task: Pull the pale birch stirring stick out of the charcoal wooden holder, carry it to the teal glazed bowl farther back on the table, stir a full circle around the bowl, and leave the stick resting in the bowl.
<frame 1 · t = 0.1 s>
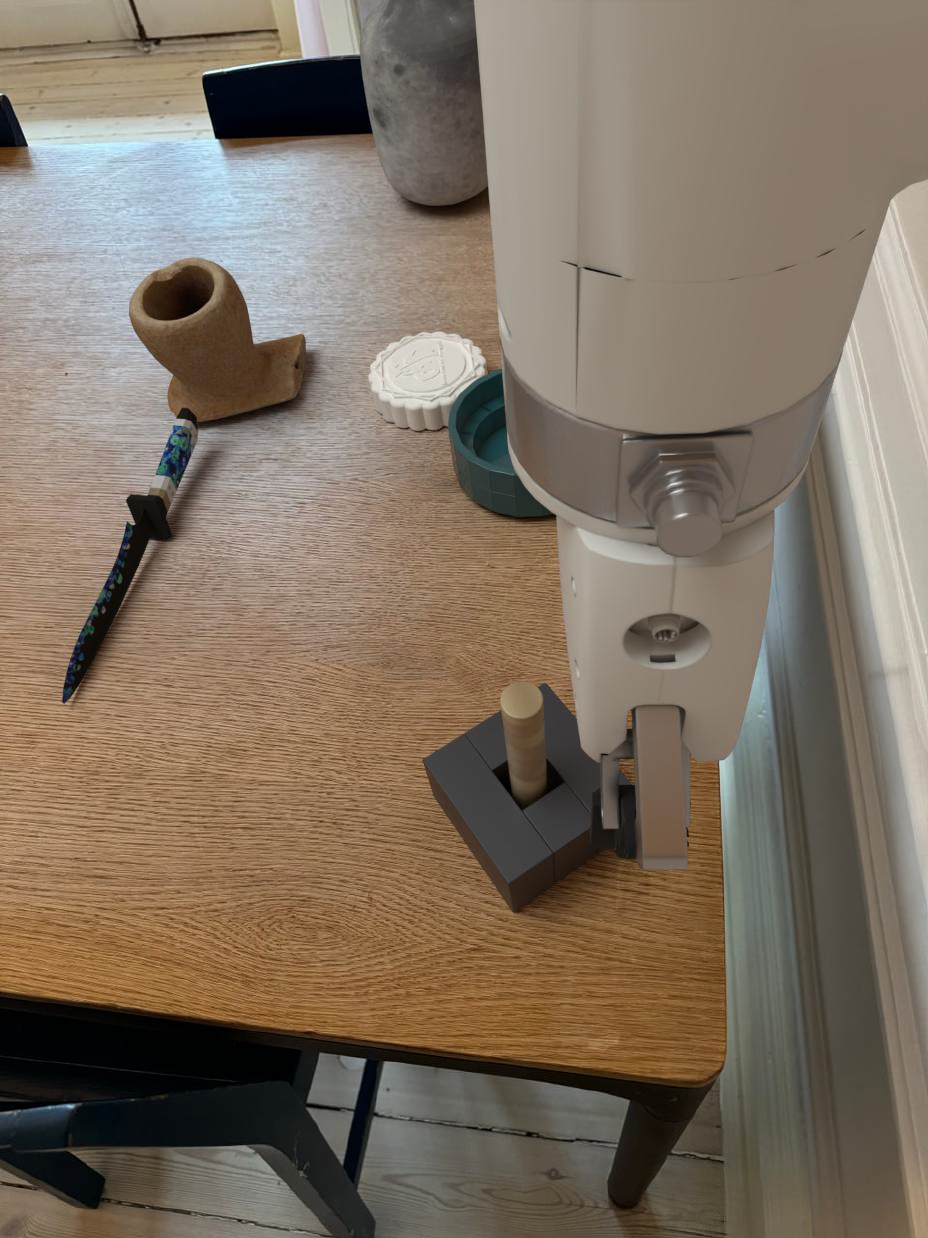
hand: (622, 724, 34), 26 cm above the table, tool pointing down, fingers open, 9 cm apart
stick: (527, 762, 54), in the holder
holder: (531, 812, 60), on the table
knife: (143, 564, 78), on the table
brown hollow clay piece: (244, 399, 90), on the table
mooncake: (431, 393, 88), on the table
bowl: (531, 465, 80), on the table
vase: (446, 193, 110), on the table
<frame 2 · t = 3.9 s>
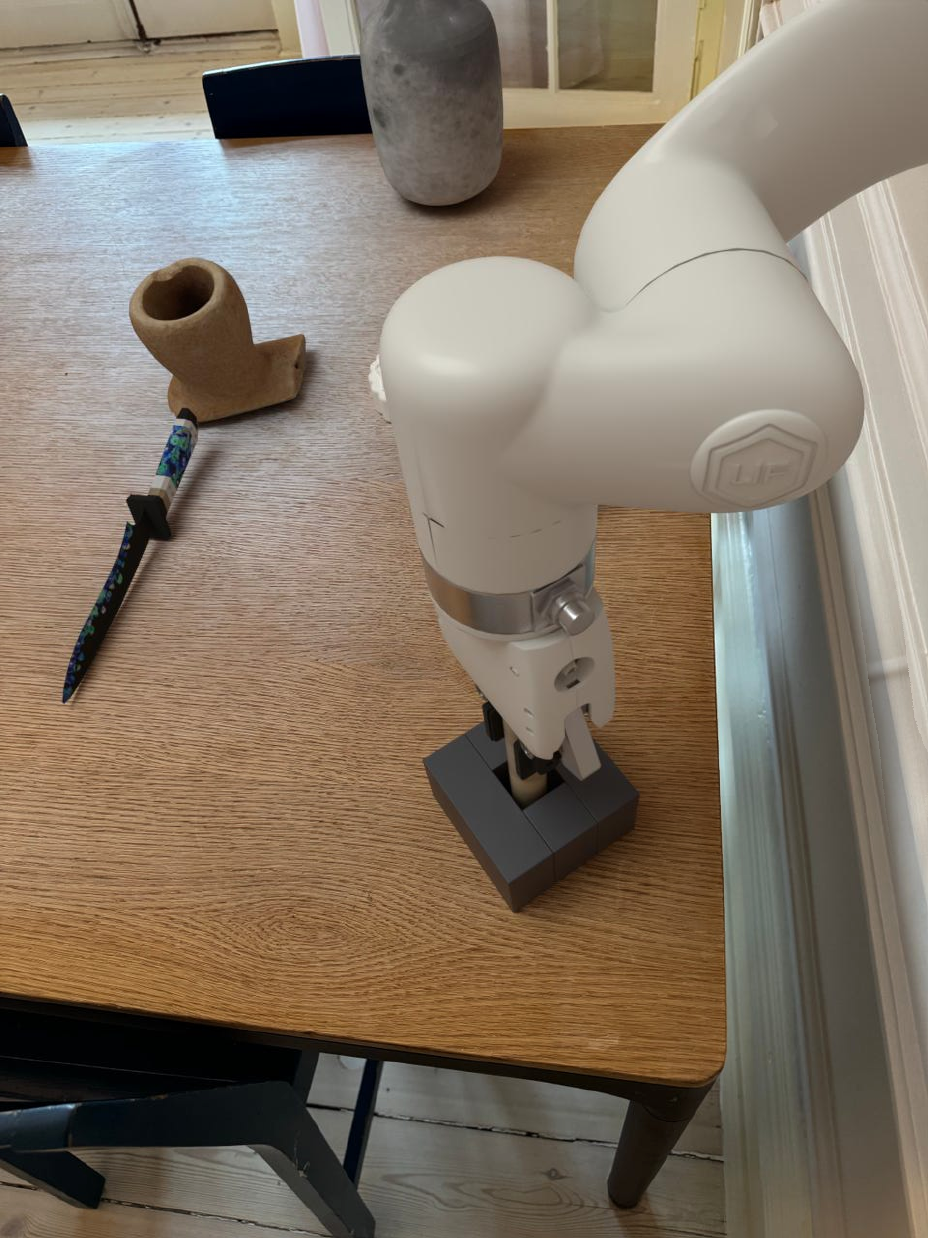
hand: (525, 743, 52), 11 cm above the table, tool pointing down, fingers closed on stick, 2 cm apart
stick: (527, 762, 54), in the holder, touching gripper
everything else where it was.
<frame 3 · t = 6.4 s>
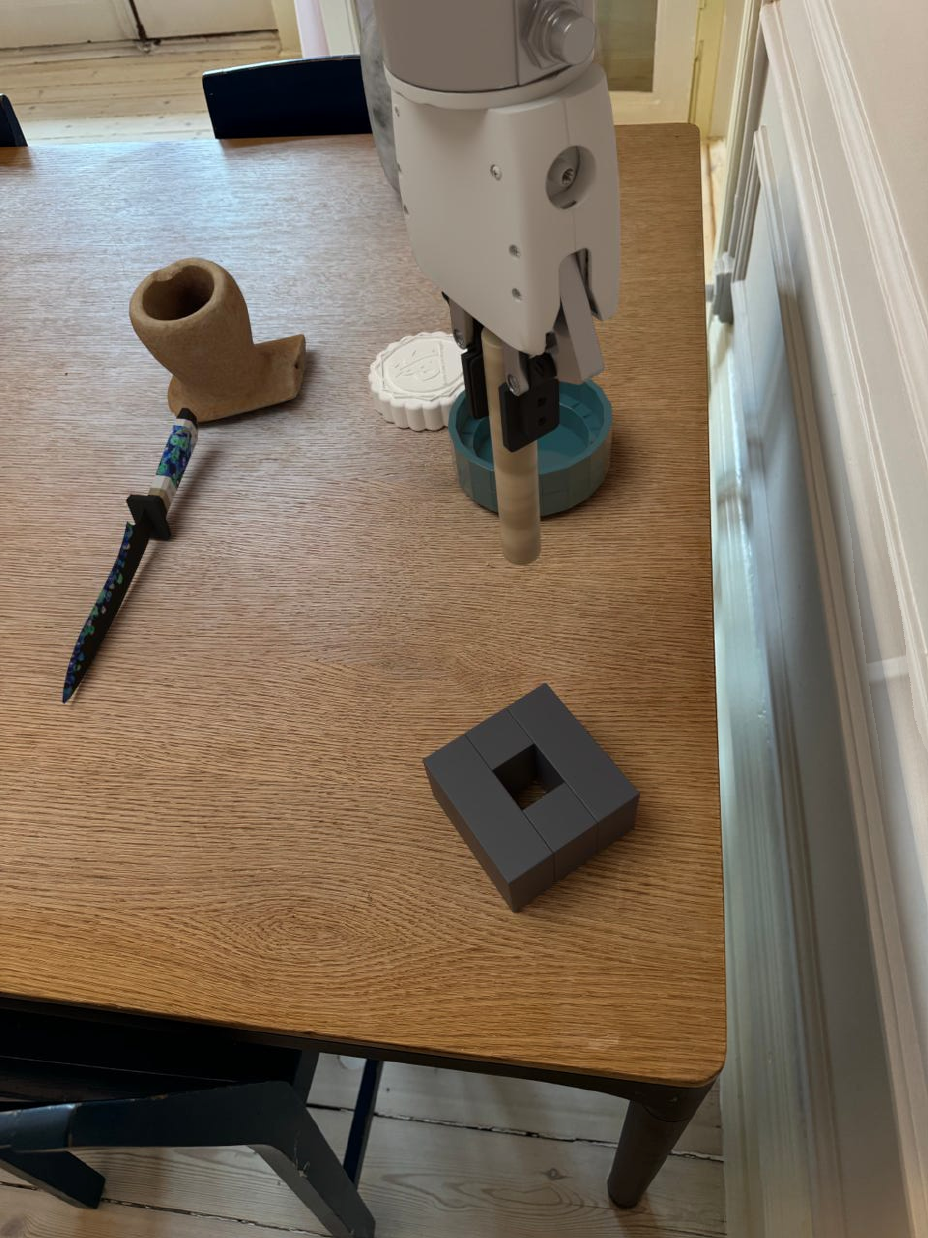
hand: (513, 419, 44), 27 cm above the table, tool pointing down, fingers closed on stick, 2 cm apart
stick: (515, 456, 46), point 25 cm above the table, touching gripper
everything else where it was.
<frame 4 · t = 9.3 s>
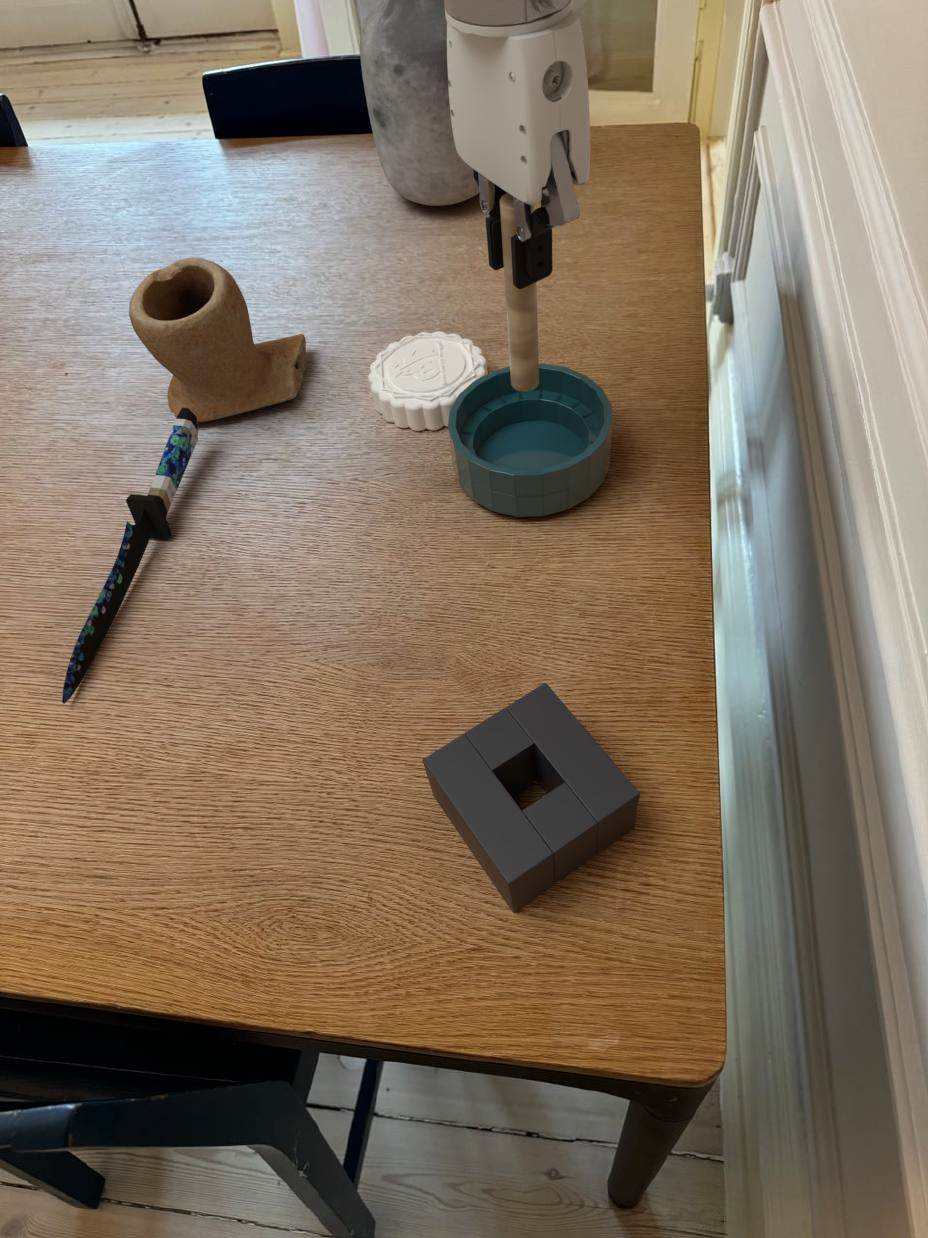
hand: (520, 269, 64), 20 cm above the table, tool pointing down, fingers closed on stick, 2 cm apart
stick: (521, 299, 66), point 18 cm above the table, touching gripper
everything else where it was.
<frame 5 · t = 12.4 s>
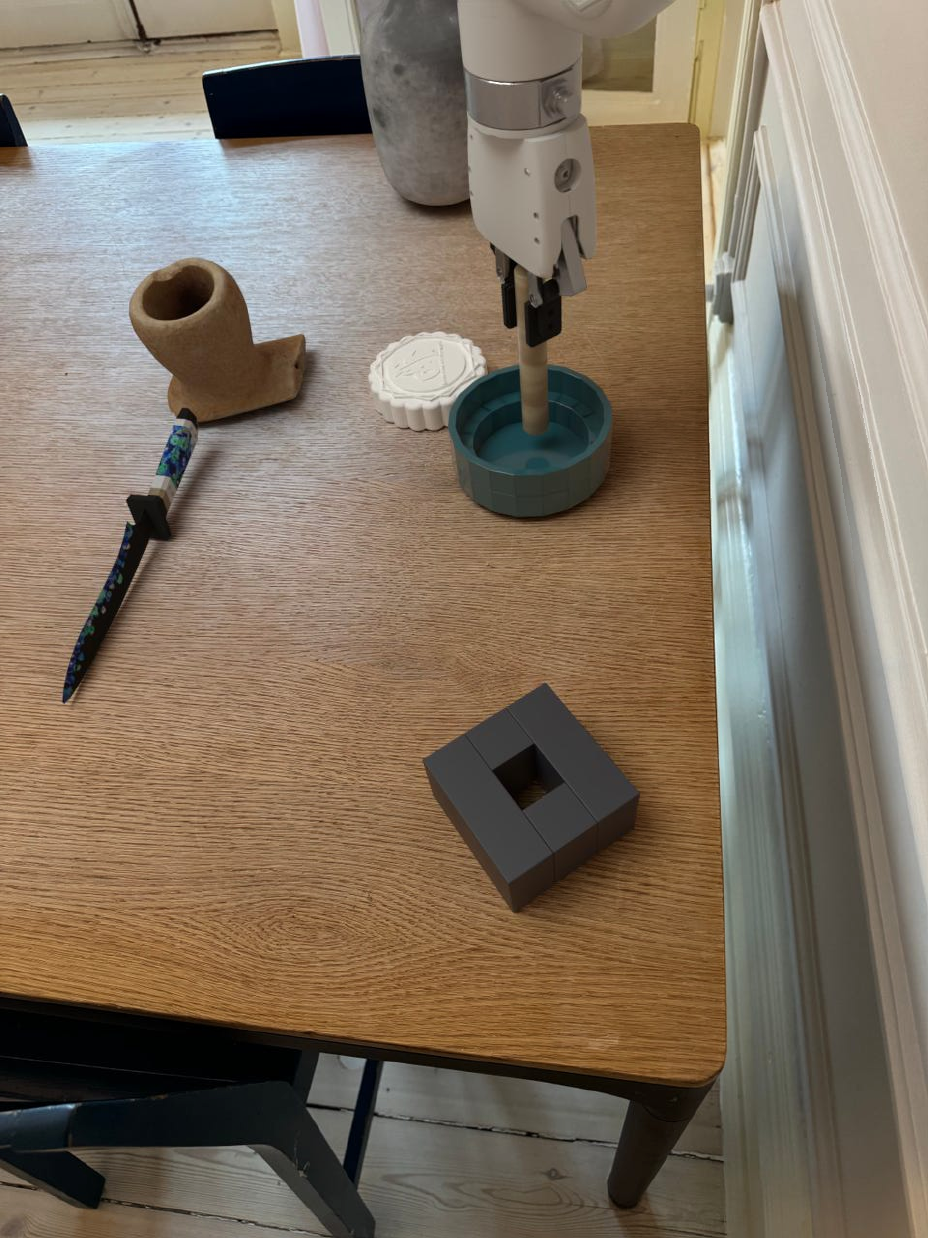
hand: (532, 328, 70), 14 cm above the table, tool pointing down, fingers closed on stick, 2 cm apart
stick: (533, 354, 72), point 11 cm above the table, touching gripper
everything else where it was.
when the fingers open (11 cm above the table, at t = 14.8 s): stick stays where it is, resting on bowl.
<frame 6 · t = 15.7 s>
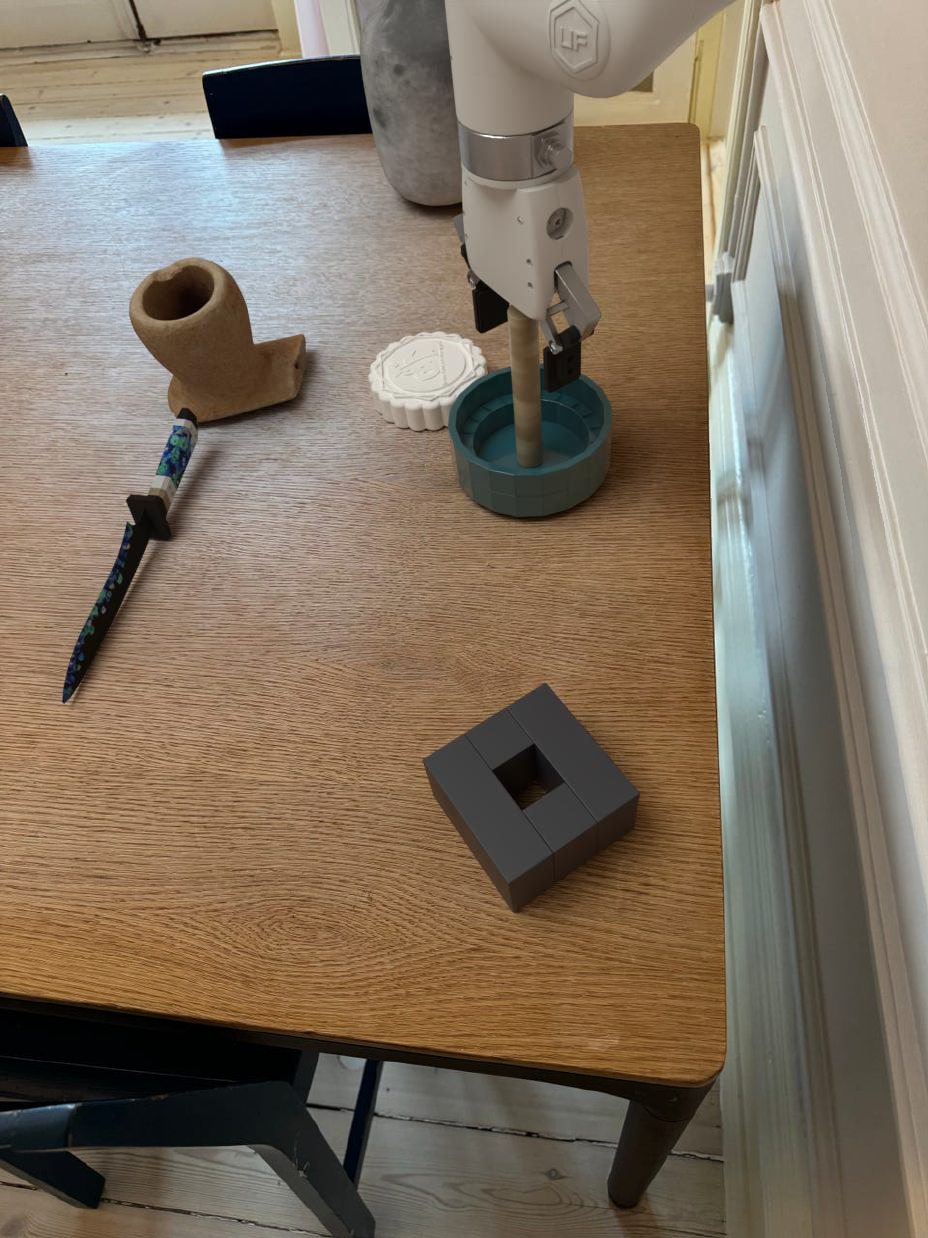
hand: (526, 353, 70), 13 cm above the table, tool pointing down, fingers open, 9 cm apart
stick: (526, 390, 73), in the bowl, point 9 cm above the table
everything else where it was.
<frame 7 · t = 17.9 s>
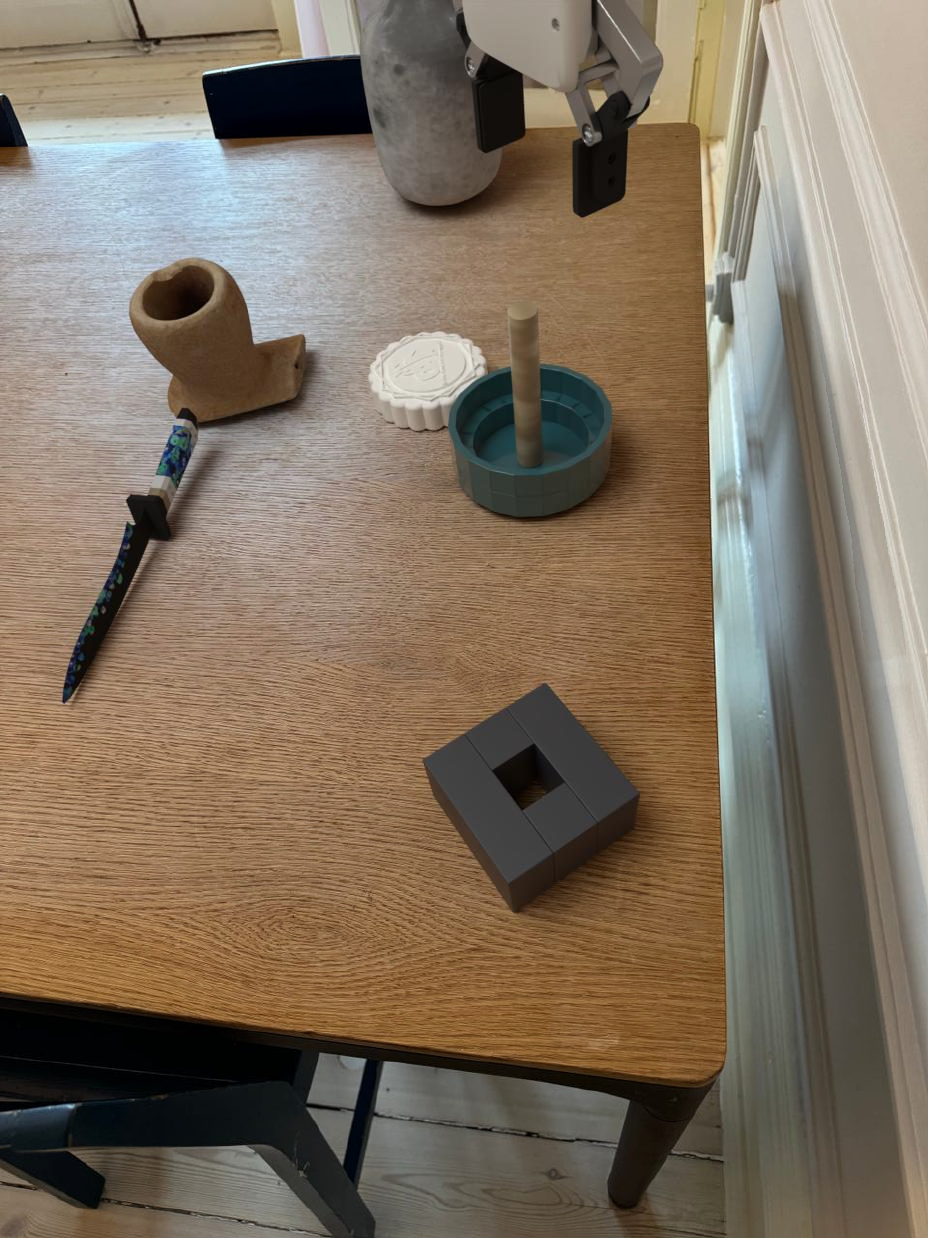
hand: (548, 173, 50), 31 cm above the table, tool pointing down, fingers open, 9 cm apart
nothing on the table moved.
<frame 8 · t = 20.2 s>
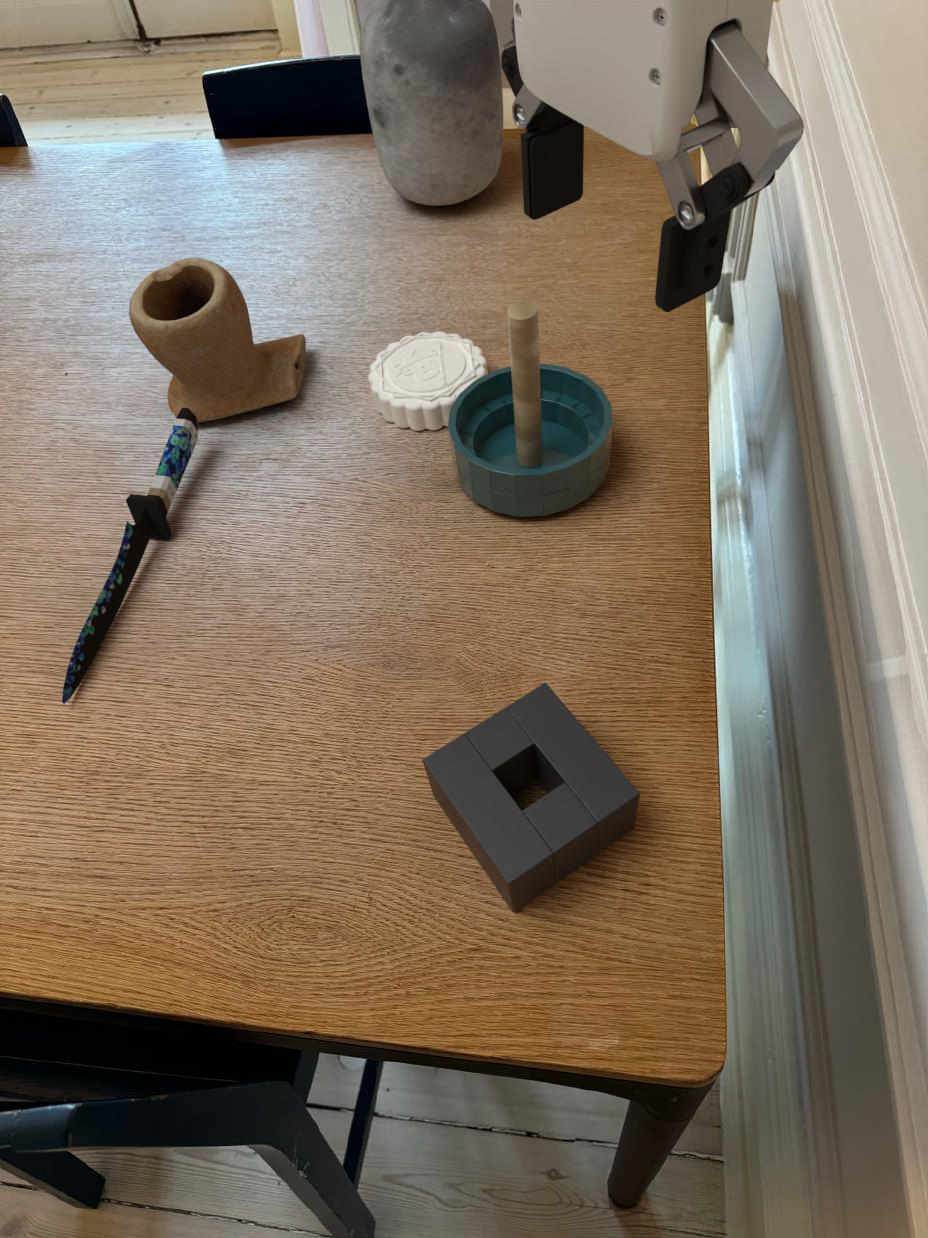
hand: (616, 249, 40), 34 cm above the table, tool pointing down, fingers open, 9 cm apart
nothing on the table moved.
at the end: stick inside the target area in the bowl (0.1 cm from its centre), point 8.8 cm above the bowl's base; the gripper is holding nothing; stick touching bowl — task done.
